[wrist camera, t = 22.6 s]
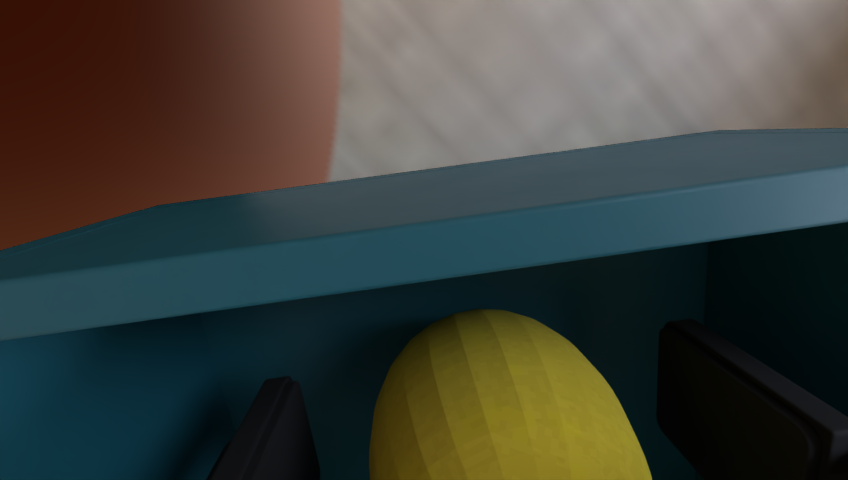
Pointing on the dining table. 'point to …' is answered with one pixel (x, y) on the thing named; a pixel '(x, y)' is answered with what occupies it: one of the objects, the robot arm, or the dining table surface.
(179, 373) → the box
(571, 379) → the lemon
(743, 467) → the robot arm
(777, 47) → the dining table surface
